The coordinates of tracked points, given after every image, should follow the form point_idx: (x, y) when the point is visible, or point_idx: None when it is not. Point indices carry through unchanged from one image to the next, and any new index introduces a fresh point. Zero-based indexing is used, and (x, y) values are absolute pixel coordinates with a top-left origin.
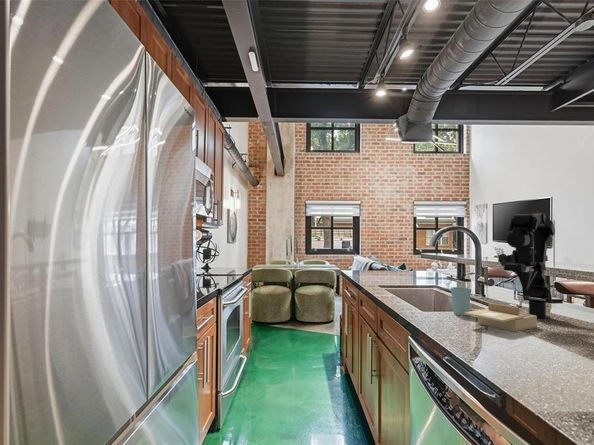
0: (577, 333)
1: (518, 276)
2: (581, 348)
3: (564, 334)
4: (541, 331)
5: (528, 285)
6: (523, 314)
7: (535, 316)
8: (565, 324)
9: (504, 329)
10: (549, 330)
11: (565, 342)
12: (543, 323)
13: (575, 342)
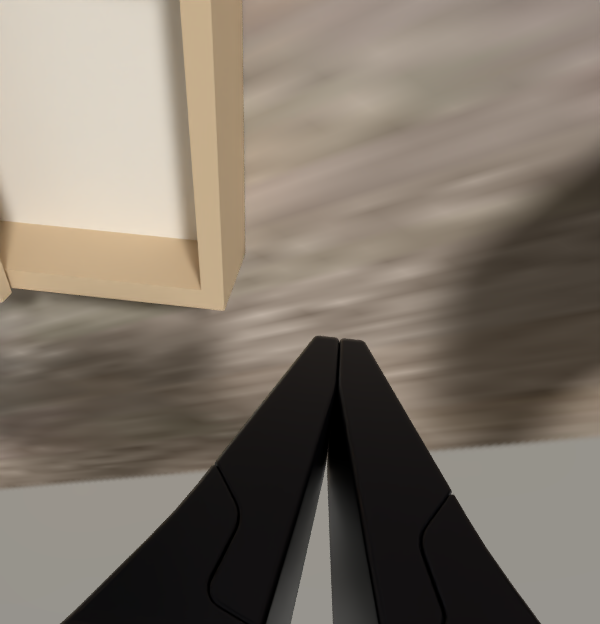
0: None
1: (89, 601)
2: (12, 473)
3: (205, 397)
4: (146, 308)
5: (329, 483)
6: (196, 206)
7: (203, 305)
8: (566, 344)
9: None
10: (229, 329)
11: (36, 427)
12: (466, 238)
13: (85, 449)
